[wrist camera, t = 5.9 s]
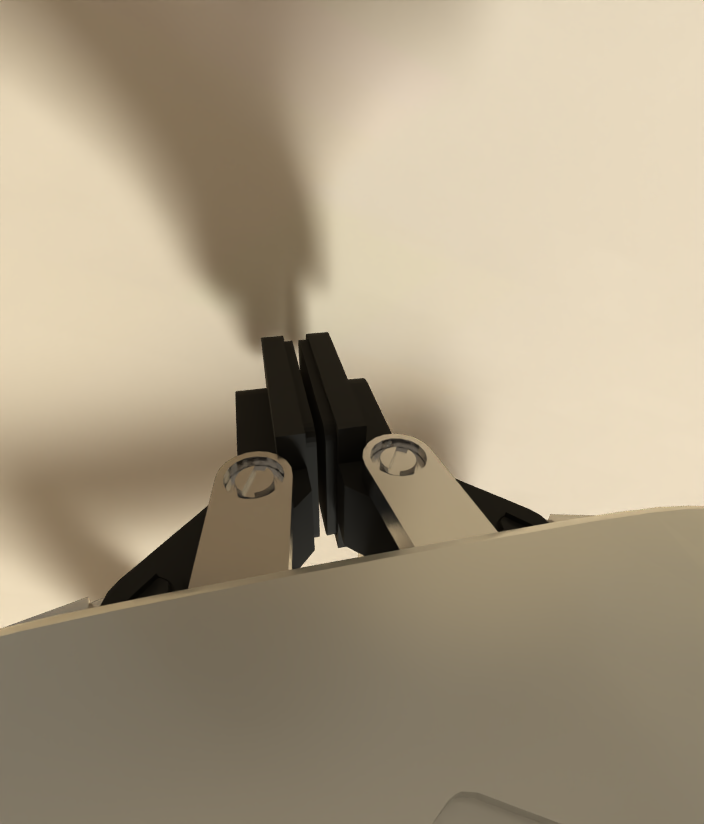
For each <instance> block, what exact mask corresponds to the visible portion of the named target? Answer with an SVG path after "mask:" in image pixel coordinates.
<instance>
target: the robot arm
mask: <svg viewBox="0 0 704 824" xmlns="http://www.w3.org/2000/svg"><path fill="white" fill-rule="evenodd" d="M261 342H262V351H263V360H264V369H265V378H266V387H267V388H264V389H254V390H245V391H236V426H237V456H236V457H234V458H232V459H231V460H229V461H227V462H226V463H225V464H224V465H223V466H222V467H221V468H220V469H219V471H218V473H217V475H216V477H215V480H214V484H213V488H212V492H211V496H210V501H209V505H208V506H207V507H206V508H205V509H203V510H202V511H201V512H200V513H199V514H197V515H196V516H195V517H194V518H193V519H191V520H190V521H189V522H188V523H187V524H185V525H184V526H183V527H182V528H181V529H180V530H178V531H177V532H176V533H175V534H174V535H172V536H171V537H170V538H169V539H168V540H166V541H165V542H164V543H163V544H162V545H160V546H159V547H158V548H157V549H156V550H155V551H153V552H152V553H151V554H150V555H149V556H147V557H146V558H145V559H144V560H143V561H141V562H140V563H139V564H138V565H137V566H135V567H134V568H133V569H132V570H131V571H130V572H128V573H127V574H126V575H125V576H124V577H122V578H121V579H120V580H119V581H118V582H117V583H116V584H115V585H114V586H113V587H112V588H111V589H110V590H109V591H108V593H107V594H106V596H105V598H102V599H100V600H97V601H94V602H92V603H91V601H90V599H89V598H88V597H86V598H84V599H81V600H78V601H75V602H73V603H70V604H67V605H64V606H62V607H59V608H56V609H53V610H51V611H48V612H45V613H42V614H40V615H37V616H34V617H31V618H29V619H26V620H23V621H20V622H18V623H15V624H12V625H9V626H7V627H4V628H0V824H704V506H673V507H655V508H647V509H640V510H632V511H623V512H615V513H609V514H603V515H597V516H596V515H560V514H550V516H549V519H548V520H545V519H544V518H543V517H542V516H541V515H539V514H537V513H535V512H534V511H532V510H530V509H528V508H525V507H523V506H520V505H518V504H516V503H513V502H511V501H508V500H506V499H503V498H501V497H499V496H496V495H494V494H491V493H489V492H486V491H484V490H482V489H479V488H477V487H474V486H472V485H469V484H467V483H465V482H462V481H460V480H457V479H455V478H454V477H453V476H452V475H451V473H450V472H449V471H448V470H447V468H446V467H445V466H444V465H443V463H442V462H441V461H440V460H439V458H438V457H437V456H436V455H435V453H434V452H433V451H432V450H431V449H430V448H429V447H428V446H427V445H426V444H425V443H424V442H423V441H421V440H419V439H417V438H415V437H412V436H408V435H405V434H391V432H390V429H389V427H388V425H387V423H386V421H385V419H384V417H383V415H382V413H381V410H380V408H379V406H378V404H377V402H376V400H375V398H374V396H373V394H372V391H371V389H370V387H369V385H368V383H367V381H366V380H365V379H364V378H360V379H350V380H348V379H347V376H346V374H345V372H344V369H343V367H342V364H341V362H340V360H339V357H338V355H337V352H336V350H335V347H334V345H333V343H332V340H331V338H330V335H329V333H328V332H324V333H312V334H306V340H299V342H298V346H299V364H300V369H299V365H298V361H297V357H296V354H295V350H294V346H293V342H292V341H286V342H284V338H283V336H276V337H264V338H261ZM319 504H320V509H321V513H322V518H323V522H324V527H325V531H326V534H327V535H331V534H335V537H336V541H337V545H338V548H341V547H348V548H350V549H352V550H354V551H356V552H358V557H357V558H352V559H346V560H341V561H335V562H330V563H324V564H319V565H314V566H308V567H303V568H300V567H301V566H302V565H303V563H304V562H305V561H306V560H307V559H308V558H309V556H310V555H311V554H312V553H313V552H314V550H315V546H314V537H319V536H320V527H319Z"/></svg>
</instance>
